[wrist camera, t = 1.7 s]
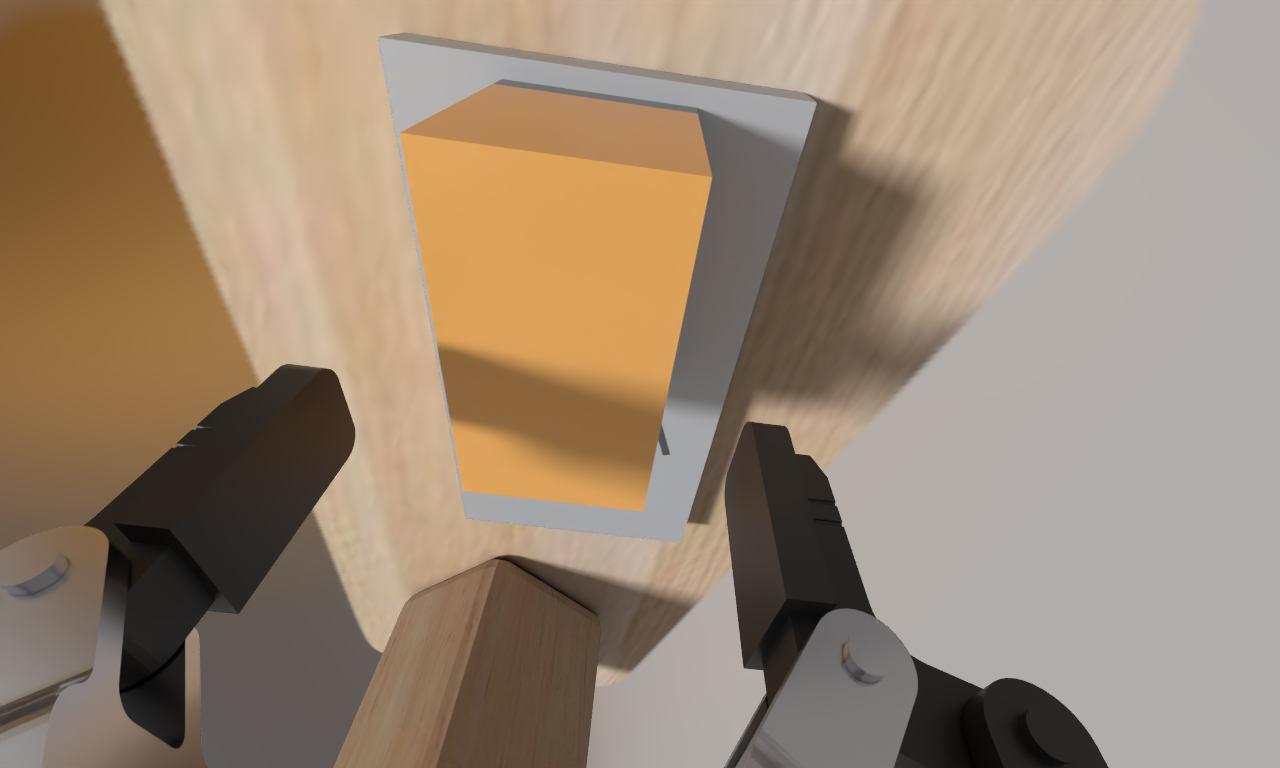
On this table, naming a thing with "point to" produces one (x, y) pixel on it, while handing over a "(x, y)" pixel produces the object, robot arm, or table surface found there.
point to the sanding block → (557, 281)
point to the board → (725, 261)
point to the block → (481, 678)
